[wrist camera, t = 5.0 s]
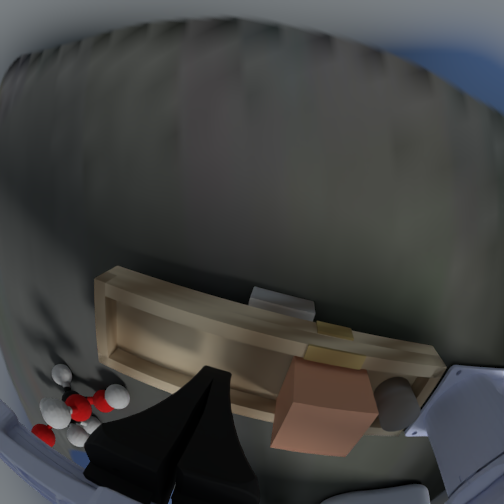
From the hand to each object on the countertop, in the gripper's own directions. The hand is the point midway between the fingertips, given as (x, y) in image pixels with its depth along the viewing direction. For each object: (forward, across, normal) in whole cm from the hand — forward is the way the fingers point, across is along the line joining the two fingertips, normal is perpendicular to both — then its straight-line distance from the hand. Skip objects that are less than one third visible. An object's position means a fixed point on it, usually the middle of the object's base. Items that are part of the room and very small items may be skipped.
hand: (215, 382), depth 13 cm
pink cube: (+2, -5, 0) cm, 6 cm away
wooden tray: (+5, -2, 0) cm, 6 cm away
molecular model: (+5, +13, +12) cm, 18 cm away
